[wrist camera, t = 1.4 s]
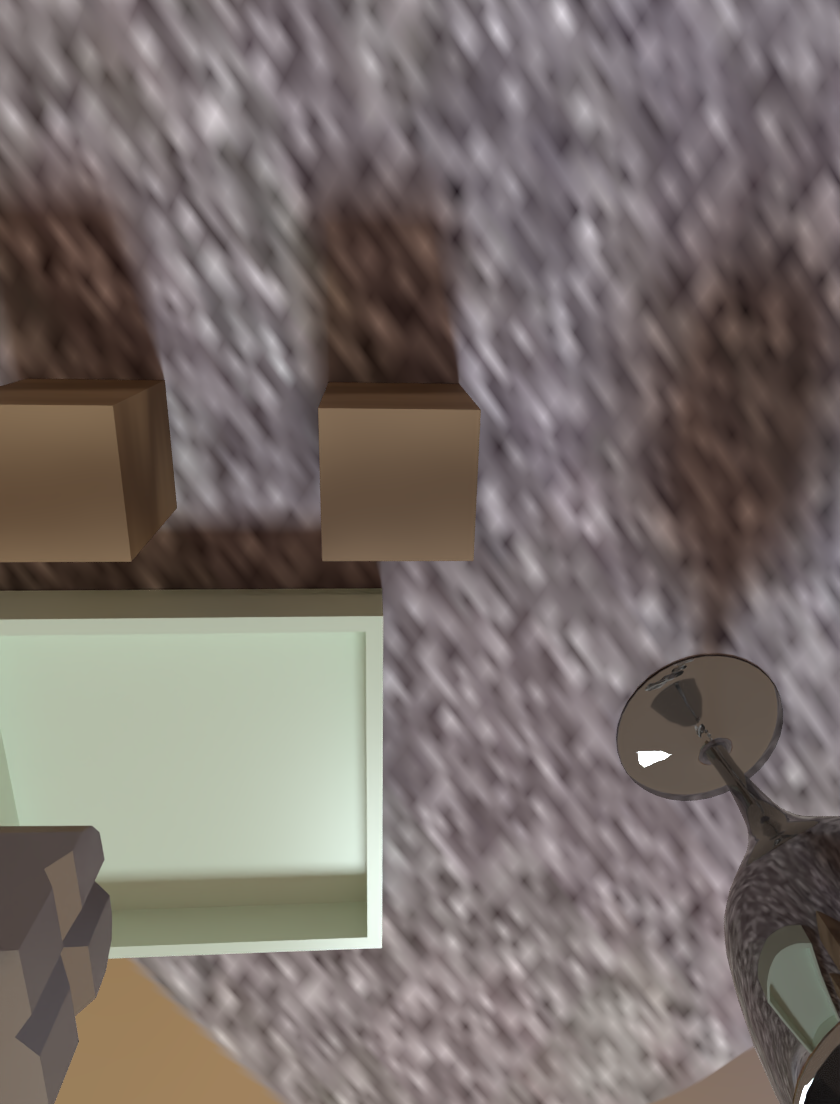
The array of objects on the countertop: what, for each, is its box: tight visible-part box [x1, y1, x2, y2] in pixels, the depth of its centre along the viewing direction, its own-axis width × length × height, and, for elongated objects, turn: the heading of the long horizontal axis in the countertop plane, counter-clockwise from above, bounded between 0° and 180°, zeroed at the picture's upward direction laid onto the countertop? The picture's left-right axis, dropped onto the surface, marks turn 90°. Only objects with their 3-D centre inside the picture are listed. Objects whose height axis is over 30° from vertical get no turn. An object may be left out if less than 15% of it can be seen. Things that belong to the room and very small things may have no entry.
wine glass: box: [616, 655, 840, 1104], centre depth 25 cm, size 8×8×15 cm
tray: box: [0, 588, 383, 959], centre depth 29 cm, size 15×15×2 cm
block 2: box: [318, 382, 481, 561], centre depth 24 cm, size 4×4×6 cm
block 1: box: [0, 379, 177, 562], centre depth 23 cm, size 4×4×6 cm
